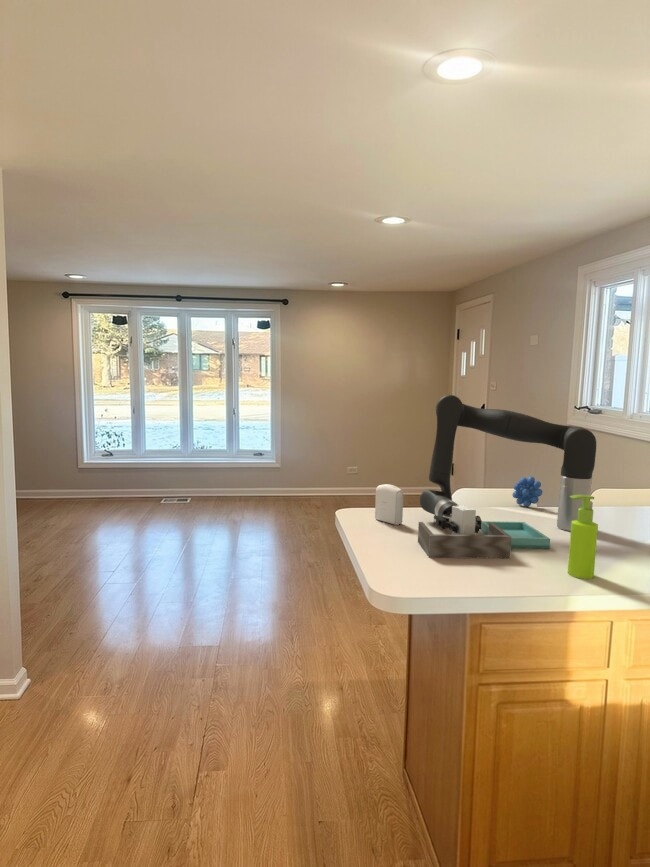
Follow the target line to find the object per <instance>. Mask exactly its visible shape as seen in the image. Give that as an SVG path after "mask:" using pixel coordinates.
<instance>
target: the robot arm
mask: <svg viewBox="0 0 650 867" xmlns="http://www.w3.org/2000/svg"><path fill="white" fill-rule="evenodd" d="M435 415H436V432H435V433H436V434H435V441H434V445H433V446H434V447H433V450H432V456H431V461H430V467H429V475H428V481H429V482H430V483H433V484H435V485H437V486H439V488H440V491H439V490H434V489H425V490H423V492H421V494H420V496H419V505H420V507H421V508H422V509H423V511H425V512H426V513H429V514H431V515H433V525H435V526H436V527H438V528H440V529H442V530H446V529H447V530H450V531H451V532H452V531H453V532H454V533H458V525H457V524H456V523H455V522H453V521H452V506H459V505H460V504H458V503H457V502H455V501H454V500H453V498H452V489H451V474H452V468H453V460H454V448H455V447H454V446H455V439H456V433H457V431H458V430H457V429H458V427H462V428H469V429H473V430H474V429H475V430H476V431H477V430H478V431H480V432H484V433H487V434H489V435H492V436H493V435H494V436H496V437H501V438H504V439H507V440H511V441H512V440H513V441H515V442H516V441H517V442H523V443H533V444H543V445H547V446H550V447H554V448H557V449H560V450H562V451H564V452H563V460H562V466H561V468H560V480H559V494H558V505H557V507H558V508H557V519H556V527H557V528H558V529H561V530H564V531H568V532H571V522H572V521H573V520H577V518H578V508H580V507H582V503H583V499H576V500H574V499H572V498H570V497H569V496H573V495H590V496H592V494H591V493H592V481H593V473H594V469H595V465H596V456H597V439H596V436H595V434H594V433H593V432H592V431H591V430H589V429H587V428H586V427H585V428H584V427H583V426H573V425H571V426H570V425H564V424H557V423H553V422H548V421H546V420H543V419H540V418H537V417H534V416H531V415H527V414H525V413H521V412H517V411H511V410H507V409H500V408H499V409H495V408H480V407H475V406H471V405H468V404H464V403H463V402H462V401H461V399H460V398H459V397H458V396H456V395H454V394H447V395H443V397H441V398H440V399H439V400H438V401H437V403H436V405H435ZM593 505H594V504H593V501H592V500H590V508H591V509H593ZM482 521H483V520H482V519H481V516H480V515H476V522H475V534H479V532H480V529H481V522H482Z"/></svg>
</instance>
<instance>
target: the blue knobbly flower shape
mask: <svg viewBox="0 0 650 867" xmlns="http://www.w3.org/2000/svg"><path fill="white" fill-rule="evenodd" d="M541 485H542V483H541V481H539V480H536V478H535V477H534V476H529V477H528V478H526V477H524V476H523V477H521V478H520V479H519V480H518V482H517V483H515V484H514V485H513V493H512V497H513V499H516V501H515V502H516V504H517V505H519V506H521V505H523V506H524V507H525V508H528V507H530V506H531V505H532V504H533V505H536V504H537V503H539V500H540V499H539V497H541V496H542V495H543V490H542V489H541Z"/></svg>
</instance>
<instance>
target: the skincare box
mask: <svg viewBox="0 0 650 867" xmlns="http://www.w3.org/2000/svg"><path fill="white" fill-rule="evenodd" d="M458 505H459V506H452V521H453V522H455V523H456V524H457V525H458V533H454V532H453V531H452V530H451V535H476V533H475V522H476V516H477V515H476V514H477V510H476V509H474V508H472V507H470V506H467V505H466V504H464V505H463V504H458Z"/></svg>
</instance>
